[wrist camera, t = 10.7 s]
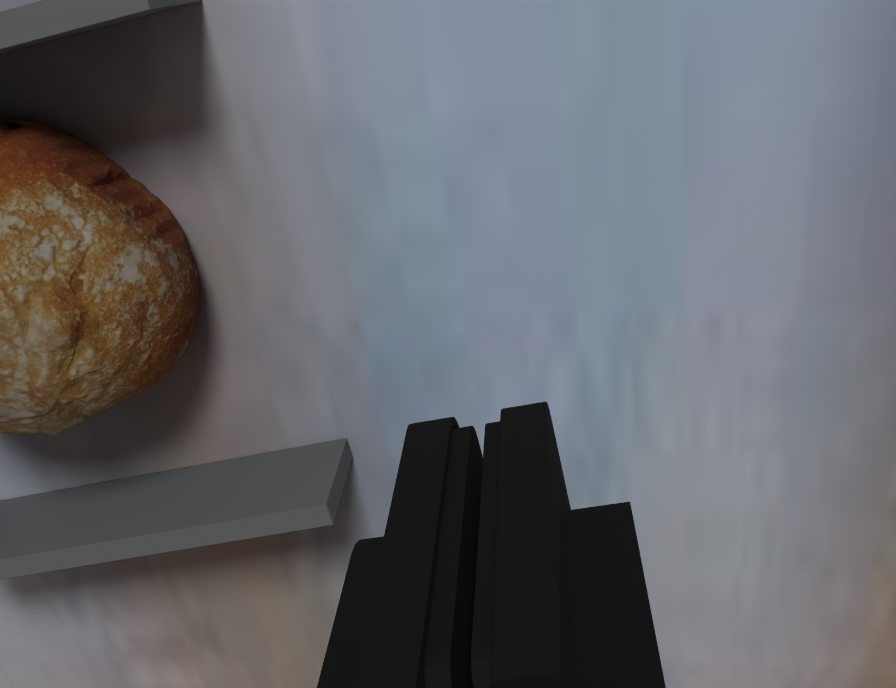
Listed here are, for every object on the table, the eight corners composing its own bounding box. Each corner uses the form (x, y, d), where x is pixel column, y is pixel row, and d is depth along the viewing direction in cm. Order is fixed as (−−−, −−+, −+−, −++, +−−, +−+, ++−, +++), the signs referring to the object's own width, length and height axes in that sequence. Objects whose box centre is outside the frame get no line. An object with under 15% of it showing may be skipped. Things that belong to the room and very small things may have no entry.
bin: (191, -29, 24) (137, -26, 20) (352, 457, 31) (333, 524, 27) (-251, 91, 26) (-371, 113, 22) (-11, 521, 33) (-74, 591, 29)
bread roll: (65, 361, 34) (37, 531, 28) (-206, 202, 27) (-312, 388, 21) (251, 229, 31) (260, 390, 26) (3, 15, 24) (-56, 174, 19)
